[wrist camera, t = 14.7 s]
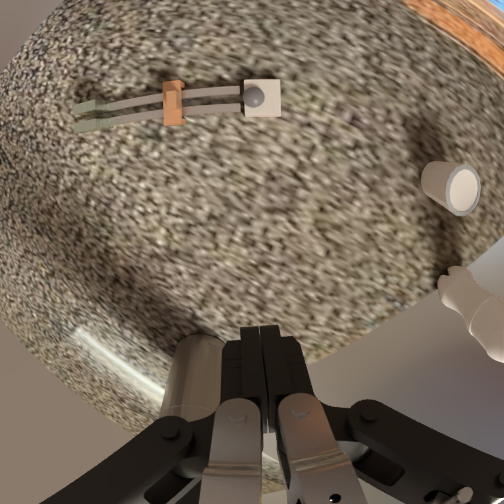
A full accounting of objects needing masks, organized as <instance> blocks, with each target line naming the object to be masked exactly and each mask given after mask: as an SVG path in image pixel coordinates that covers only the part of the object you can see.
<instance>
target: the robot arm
mask: <svg viewBox="0 0 504 504" xmlns="http://www.w3.org/2000/svg"><path fill="white" fill-rule="evenodd" d="M240 337H241V340H232V341H227V342H226V344H224V343H223V342H222V341H221V340H219V339H217V338H215V337H212V336H209V335H204V334H196V335H190V336H187V337H185V338H183V339H182V340H181V341H179V342H178V344H177V346H176V349H175V353H174V357H173V360H172V364H171V368H170V372H169V377H168V381H167V385H166V389H165V393H164V398H163V402H162V407H161V411H160V416H159V419H157V420H156V421H155V422H153V423H152V424H151V425H150V426H148V427H147V428H146V429H144V430H143V431H142V432H141V433H139V434H138V435H137V436H136V437H134V438H133V439H132V440H130V441H129V442H128V443H126V444H125V445H124V446H123V447H121V448H120V449H118V450H117V451H116V452H114V453H113V454H112V455H110V456H109V457H108V458H107V459H105V460H104V461H102V462H101V463H99V464H98V465H97V466H95V467H94V468H92V469H91V470H90V471H88V472H87V473H85V474H84V475H82V476H81V477H79V478H78V479H76V480H75V481H74V482H72V483H71V484H69V485H68V486H66V487H65V488H63V489H62V490H60V491H59V492H57V493H55V494H54V495H52V496H51V497H49V498H47V499H46V500H44V501H43V502H41V503H39V504H262V451H263V433H267V418H268V427H269V433H273V432H275V433H276V440H277V454H278V459H279V463H280V467H281V471H282V476H283V480H284V484H285V488H286V493H287V503H288V504H368V503H367V500H366V497H365V495H364V493H363V490H362V487H361V485H360V482H359V480H358V478H360V479H362V480H364V481H365V482H367V483H369V484H371V485H372V486H374V487H376V488H377V489H379V490H381V491H383V492H384V493H386V494H388V495H390V496H392V497H394V498H396V499H398V500H399V501H402V502H403V503H405V504H498V503H499V502H501V501H502V500H503V499H504V460H501V459H499V458H497V457H494V456H492V455H489V454H487V453H484V452H482V451H480V450H477V449H475V448H473V447H470V446H468V445H466V444H463V443H461V442H459V441H457V440H455V439H453V438H450V437H448V436H446V435H444V434H442V433H440V432H437V431H436V430H434V429H431V428H429V427H427V426H425V425H423V424H421V423H419V422H417V421H415V420H413V419H411V418H409V417H407V416H405V415H403V414H401V413H399V412H398V411H395V410H394V409H392V408H390V407H388V406H386V405H384V404H383V403H381V402H378V401H376V400H368V399H367V400H361V401H358V402H356V403H355V404H354V405H352V407H351V408H340V407H331V406H328V405H326V404H324V403H322V402H321V401H319V400H318V399H317V398H316V396H315V395H314V392H313V389H312V385H311V381H310V378H309V374H308V371H307V367H306V364H305V360H304V356H303V353H302V349H301V346H300V343H299V342H298V341H297V340H296V339H295V338H294V337H293V336H287V337H281V335H280V330H279V326H278V325H266V326H260V335H259V327H258V326H253V327H240Z"/></svg>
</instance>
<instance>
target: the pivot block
mask: <svg viewBox="0 0 504 504" xmlns="http://www.w3.org/2000/svg"><path fill="white" fill-rule="evenodd" d="M243 101H244V103H245V117H279V116H281V103H280V80H273V79H258V80H244V93H243Z"/></svg>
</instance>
